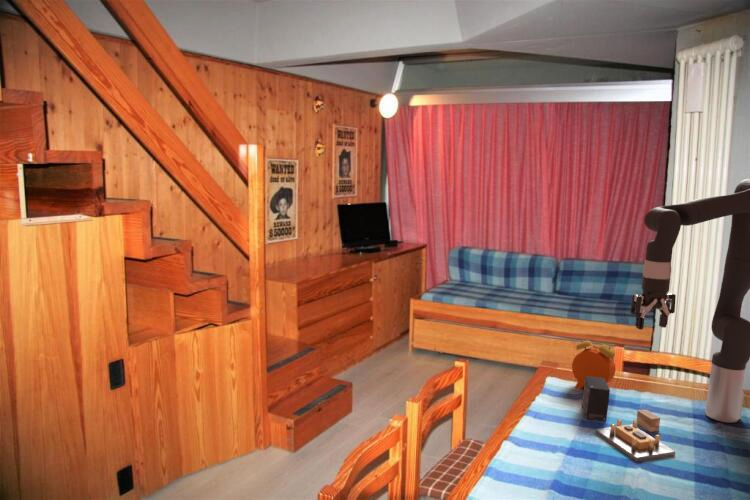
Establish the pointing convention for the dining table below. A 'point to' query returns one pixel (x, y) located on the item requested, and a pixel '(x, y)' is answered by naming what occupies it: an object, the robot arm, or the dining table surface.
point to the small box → (595, 398)
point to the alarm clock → (593, 362)
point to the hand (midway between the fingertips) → (651, 327)
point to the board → (633, 435)
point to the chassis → (635, 444)
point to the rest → (648, 420)
